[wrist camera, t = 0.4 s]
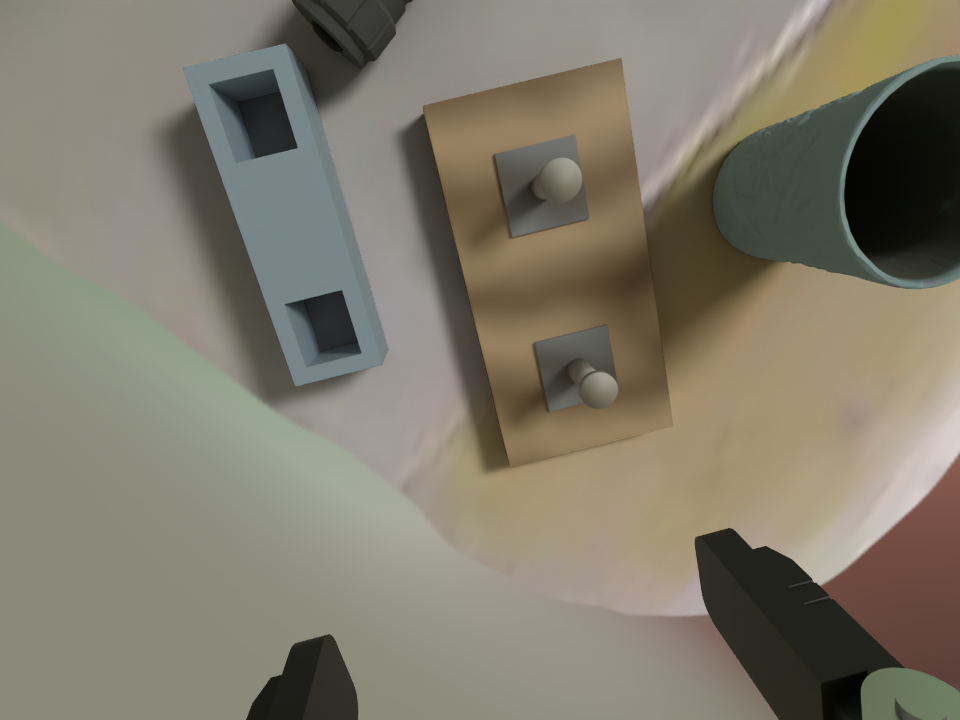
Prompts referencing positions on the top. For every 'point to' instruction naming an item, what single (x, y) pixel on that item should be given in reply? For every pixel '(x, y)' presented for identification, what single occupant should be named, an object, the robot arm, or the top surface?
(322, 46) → the top surface
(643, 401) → the mount board
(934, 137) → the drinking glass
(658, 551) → the top surface
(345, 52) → the flashlight
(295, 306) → the blue-grey block with holes
